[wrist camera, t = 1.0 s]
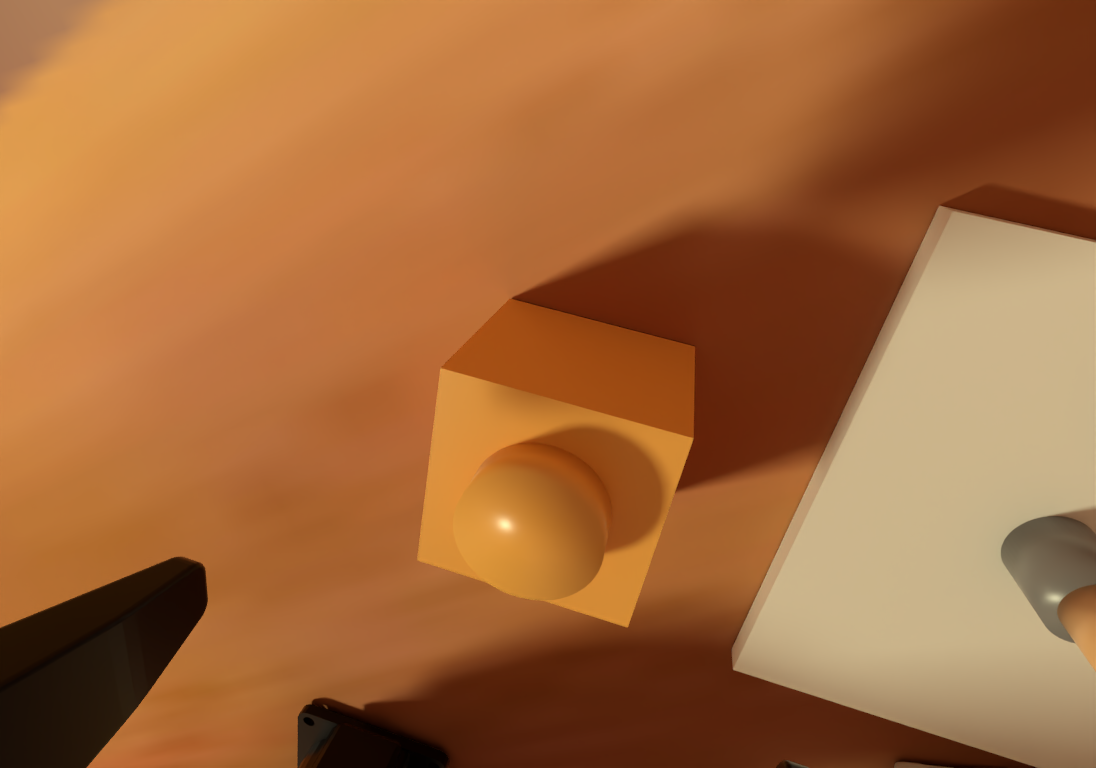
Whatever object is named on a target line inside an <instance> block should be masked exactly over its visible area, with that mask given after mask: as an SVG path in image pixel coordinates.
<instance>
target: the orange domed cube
mask: <svg viewBox="0 0 1096 768" xmlns="http://www.w3.org/2000/svg"><path fill="white" fill-rule="evenodd" d="M694 391H695V346H691V345H687V344H684V343H680V342H676V341H672V340H668V339H664V338H660V337H657V336H653V335H649V334H645V333H641V332H637V331H633V330H630V329H626V328H622V327H618V326H614V325H610V324H606V323H603V322H599V321H595V320H591V319H587V318H583V317H580V316H576V315H572V314H568V313H564V312H560V311H556V310H553V309H549V308H545V307H541V306H537V305H533V304H529V303H526V302H522V301H518V300H514V299H509V300H508V301H507V302H506V303H505V304H504V305H503V306H502V307H501V308H500V309H499V310H498V311H497V312H496V313H495V314H494V315H493V316H492V317H491V318H490V319H489V320H488V321H487V322H486V323H485V324H484V325H483V326H482V327H481V328H480V329H479V330H478V331H477V332H476V333H475V334H474V335H473V336H472V337H471V338H470V339H469V340H468V341H467V342H466V343H465V344H464V345H463V346H462V347H461V348H460V349H459V350H458V351H457V352H456V353H455V354H454V355H453V356H452V357H451V358H450V359H449V360H448V361H447V362H446V363H445V364H444V365H443V366H442V367H441V368H440V376H439V384H438V393H437V401H436V409H435V417H434V426H433V434H432V442H431V450H430V458H429V467H428V475H427V483H426V491H425V500H424V508H423V516H422V524H421V533H420V541H419V549H418V557H417V560H418V561H421V562H424V563H427V564H430V565H433V566H437V567H440V568H443V569H446V570H449V571H452V572H455V573H458V574H462V575H465V576H468V577H471V578H474V579H477V580H480V581H483V582H487V583H489V584H490V585H492V586H493V587H495V588H497V589H499V590H501V591H503V592H505V593H508V594H510V595H513V596H516V597H520V598H524V599H530V600H542V601H546V602H549V603H552V604H555V605H558V606H562V607H565V608H568V609H571V610H574V611H577V612H580V613H583V614H587V615H590V616H593V617H596V618H599V619H602V620H605V621H608V622H612V623H615V624H618V625H621V626H624V627H627V628H628V625H629V622H630V619H631V617H632V614H633V611H634V608H635V605H636V602H637V599H638V597H639V594H640V591H641V588H642V585H643V582H644V579H645V576H646V574H647V571H648V568H649V565H650V562H651V559H652V556H653V554H654V551H655V548H656V545H657V542H658V539H659V536H660V534H661V531H662V528H663V525H664V522H665V519H666V516H667V513H668V511H669V508H670V505H671V502H672V499H673V496H674V493H675V491H676V488H677V485H678V482H679V479H680V476H681V473H682V471H683V468H684V465H685V462H686V459H687V456H688V453H689V451H690V448H691V445H692V442H693V439H694Z"/></svg>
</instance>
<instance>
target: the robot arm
mask: <svg viewBox="0 0 1096 768" xmlns="http://www.w3.org/2000/svg"><path fill="white" fill-rule="evenodd" d="M207 602H208V596H207V584H206V571H205V567H204V566H203V564H201V563H200V562H197V561H194V560H191V559H188V558H185V557H174V558H171V559H169V560H166V561H164V562H161V563H159V564H156V565H154V566H151V567H149V568H146V569H144V570H141V571H139V572H137V573H134V574H132V575H129V576H127V577H124V578H122V579H119V580H117V581H114V582H112V583H109V584H107V585H105V586H102V587H100V588H97V589H95V590H92V591H90V592H87V593H85V594H82V595H80V596H77V597H75V598H73V599H70V600H68V601H65V602H63V603H60V604H58V605H55V606H53V607H50V608H48V609H45V610H43V611H41V612H38V613H36V614H33V615H31V616H28V617H26V618H23V619H21V620H18V621H16V622H13V623H11V624H9V625H6V626H4V627H1V628H0V768H86V767H87V766H88V765H89V764H90V763H91V762H92V760H93V759H94V758H95V757H96V756H97V755H98V753H99V752H100V751H101V750H102V749H103V747H104V746H105V745H106V744H107V743H108V742H109V740H110V739H111V738H112V737H113V736H114V735H115V733H116V732H117V731H118V730H119V729H120V727H121V726H122V725H123V724H124V723H125V722H126V720H127V719H128V718H129V717H130V715H131V714H132V713H133V712H134V711H135V709H136V708H137V707H138V705H139V704H140V703H141V701H142V700H143V699H144V697H145V696H146V695H147V693H148V692H149V691H150V689H151V688H152V686H153V685H154V684H155V682H156V681H157V679H158V678H159V677H160V675H161V674H162V672H163V671H164V669H165V668H166V667H167V665H168V664H169V662H170V661H171V660H172V658H173V657H174V655H175V654H176V652H177V651H178V650H179V648H180V647H181V645H182V644H183V643H184V641H185V640H186V638H187V637H188V636H189V634H190V633H191V631H192V630H193V628H194V627H195V626H196V624H197V623H198V621H199V620H200V619H201V617H202V615H203V614H204V612H205V609H206V607H207ZM448 765H449V758H448V756H447V755H446V754H445V753H444V752H442V751H440V750H438V749H435V748H432V747H430V746H427V745H424V744H421V743H418V742H416V741H413V740H410V739H407V738H405V737H402V736H399V735H396V734H393V733H391V732H388V731H385V730H382V729H379V728H377V727H374V726H371V725H368V724H365V723H363V722H360V721H357V720H354V719H352V718H349V717H346V716H343V715H340V714H338V713H335V712H332V711H329V710H326V709H324V708H321V707H318V706H315V705H311V704H309V705H306V706H304V708H303V709H302V711H301V712H300V714H299V716H298V768H448ZM776 768H808V767H806V766H803V765H800V764H797V763H794V762H791V761H788V760H783V761H781V762H780V763H779V764H778V766H777V767H776Z"/></svg>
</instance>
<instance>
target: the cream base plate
mask: <svg viewBox="0 0 1096 768" xmlns="http://www.w3.org/2000/svg"><path fill="white" fill-rule="evenodd" d="M732 665H733V670H735V671H738V672H741V673H745V674H748V675H751V676H754V677H757V678H760V679H763V680H766V681H769V682H773V683H776V684H779V685H782V686H785V687H788V688H791V689H794V690H797V691H801V692H804V693H807V694H810V695H813V696H816V697H819V698H822V699H825V700H829V701H832V702H835V703H838V704H841V705H844V706H847V707H850V708H853V709H857V710H860V711H863V712H866V713H869V714H872V715H875V716H878V717H881V718H885V719H888V720H891V721H894V722H897V723H900V724H903V725H906V726H909V727H912V728H916V729H919V730H922V731H925V732H928V733H931V734H934V735H937V736H940V737H944V738H947V739H950V740H953V741H956V742H959V743H962V744H965V745H968V746H972V747H975V748H978V749H981V750H984V751H987V752H990V753H993V754H996V755H1000V756H1003V757H1006V758H1009V759H1012V760H1015V761H1018V762H1021V763H1024V764H1028V765H1031V766H1034V767H1037V768H1096V240H1093V239H1089V238H1084V237H1080V236H1075V235H1071V234H1066V233H1061V232H1057V231H1052V230H1048V229H1043V228H1039V227H1034V226H1030V225H1025V224H1021V223H1016V222H1012V221H1007V220H1003V219H998V218H994V217H989V216H984V215H980V214H975V213H971V212H966V211H962V210H957V209H953V208H948V207H944V206H939V207H938V209H937V211H936V213H935V216H934V218H933V220H932V222H931V224H930V226H929V228H928V231H927V233H926V235H925V237H924V239H923V241H922V243H921V246H920V248H919V250H918V252H917V254H916V256H915V258H914V260H913V263H912V265H911V267H910V269H909V271H908V273H907V275H906V278H905V280H904V282H903V284H902V286H901V288H900V290H899V292H898V295H897V297H896V299H895V301H894V303H893V305H892V307H891V310H890V312H889V314H888V316H887V318H886V320H885V322H884V325H883V327H882V329H881V331H880V333H879V335H878V337H877V339H876V342H875V344H874V346H873V348H872V350H871V352H870V354H869V357H868V359H867V361H866V363H865V365H864V367H863V369H862V372H861V374H860V376H859V378H858V380H857V382H856V384H855V386H854V389H853V391H852V393H851V395H850V397H849V399H848V401H847V404H846V406H845V408H844V410H843V412H842V414H841V416H840V419H839V421H838V423H837V425H836V427H835V429H834V431H833V433H832V436H831V438H830V440H829V442H828V444H827V446H826V448H825V451H824V453H823V455H822V457H821V459H820V461H819V463H818V465H817V468H816V470H815V472H814V474H813V476H812V478H811V480H810V483H809V485H808V487H807V489H806V491H805V493H804V495H803V498H802V500H801V502H800V504H799V506H798V508H797V510H796V512H795V515H794V517H793V519H792V521H791V523H790V525H789V527H788V530H787V532H786V534H785V536H784V538H783V540H782V542H781V545H780V547H779V549H778V551H777V553H776V555H775V557H774V559H773V562H772V564H771V566H770V568H769V570H768V572H767V574H766V577H765V579H764V581H763V583H762V585H761V587H760V589H759V592H758V594H757V596H756V598H755V600H754V602H753V604H752V606H751V609H750V611H749V613H748V615H747V617H746V619H745V621H744V624H743V626H742V628H741V630H740V632H739V634H738V636H737V639H736V641H735V643H734V645H733V647H732Z"/></svg>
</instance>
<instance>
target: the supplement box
mask: <svg viewBox="0 0 1096 768" xmlns="http://www.w3.org/2000/svg"><path fill="white" fill-rule="evenodd" d="M894 768H952V767H942V766H932V765H924V764H920V763H912V762H896V763H895V765H894Z"/></svg>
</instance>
